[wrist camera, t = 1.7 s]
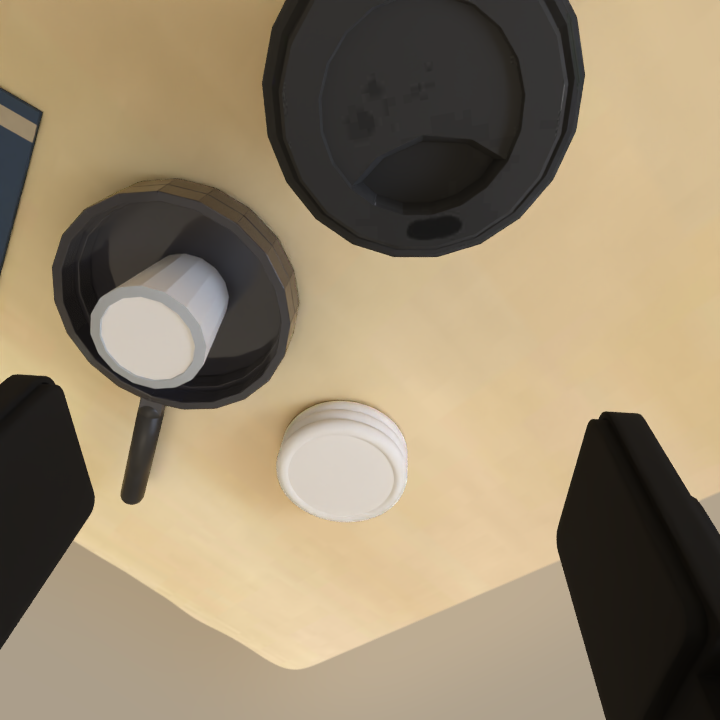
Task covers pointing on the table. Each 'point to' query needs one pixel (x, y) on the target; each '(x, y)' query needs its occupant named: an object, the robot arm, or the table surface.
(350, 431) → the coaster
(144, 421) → the pan handle
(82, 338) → the pan
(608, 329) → the table surface
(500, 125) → the coffee cup
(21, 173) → the cloth
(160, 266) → the white cup
